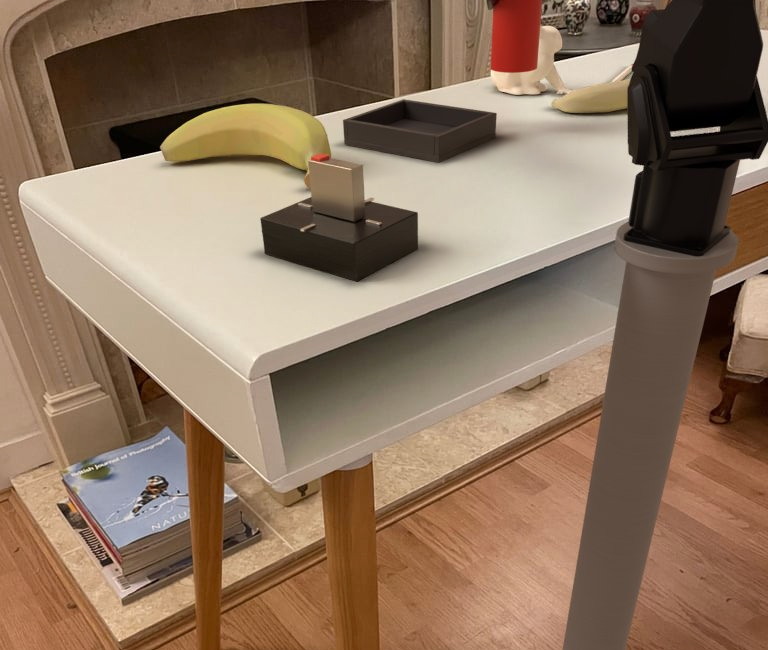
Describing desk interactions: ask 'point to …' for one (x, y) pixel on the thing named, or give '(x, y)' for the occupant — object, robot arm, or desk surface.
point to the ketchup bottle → (515, 35)
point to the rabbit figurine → (545, 69)
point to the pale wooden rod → (623, 74)
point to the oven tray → (420, 129)
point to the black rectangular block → (340, 238)
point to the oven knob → (337, 187)
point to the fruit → (595, 98)
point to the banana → (250, 135)
